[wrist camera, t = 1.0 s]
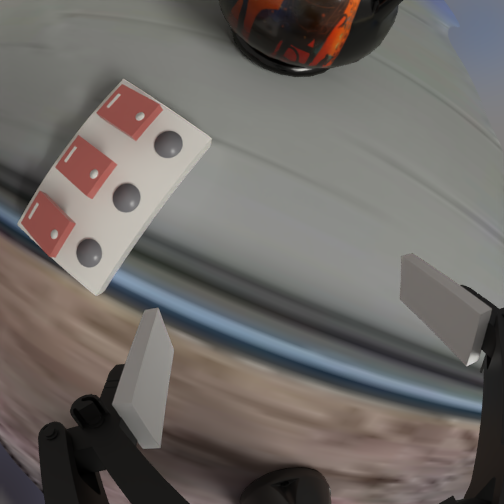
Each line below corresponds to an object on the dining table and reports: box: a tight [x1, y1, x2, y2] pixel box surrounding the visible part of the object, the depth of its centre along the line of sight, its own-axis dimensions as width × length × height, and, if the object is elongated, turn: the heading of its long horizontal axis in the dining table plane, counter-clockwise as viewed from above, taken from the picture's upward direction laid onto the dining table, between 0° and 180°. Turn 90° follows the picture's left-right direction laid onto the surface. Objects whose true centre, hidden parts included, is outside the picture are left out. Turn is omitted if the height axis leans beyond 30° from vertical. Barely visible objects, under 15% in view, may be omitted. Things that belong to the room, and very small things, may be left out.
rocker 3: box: [97, 84, 163, 141], centre depth 30 cm, size 4×6×3 cm
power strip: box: [17, 79, 212, 296], centre depth 33 cm, size 22×14×3 cm, turn 143°
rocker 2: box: [55, 135, 117, 199], centre depth 29 cm, size 4×6×3 cm
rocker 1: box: [21, 191, 76, 258], centre depth 29 cm, size 4×6×3 cm
